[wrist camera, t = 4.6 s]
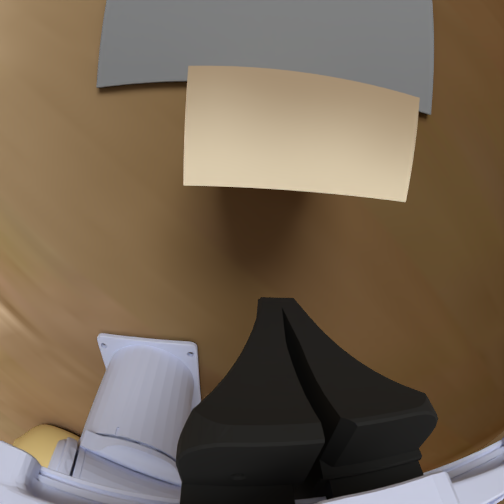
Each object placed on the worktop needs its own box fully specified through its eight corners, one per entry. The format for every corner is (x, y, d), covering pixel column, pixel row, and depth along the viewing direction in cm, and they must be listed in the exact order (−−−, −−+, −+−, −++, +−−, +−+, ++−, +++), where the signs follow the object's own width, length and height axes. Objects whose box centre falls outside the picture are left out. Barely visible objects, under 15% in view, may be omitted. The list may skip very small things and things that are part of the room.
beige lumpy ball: (15, 410, 27) (-13, 469, 18) (75, 415, 27) (48, 492, 17) (62, 456, 32) (45, 510, 22) (124, 463, 31) (111, 529, 22)
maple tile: (319, 155, 17) (405, 203, 8) (213, 148, 17) (183, 187, 7) (324, 104, 16) (419, 97, 7) (216, 95, 15) (188, 65, 6)
